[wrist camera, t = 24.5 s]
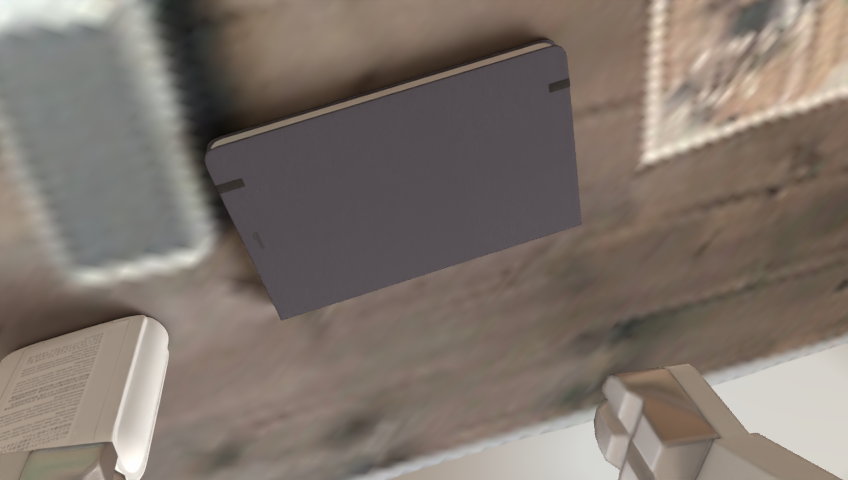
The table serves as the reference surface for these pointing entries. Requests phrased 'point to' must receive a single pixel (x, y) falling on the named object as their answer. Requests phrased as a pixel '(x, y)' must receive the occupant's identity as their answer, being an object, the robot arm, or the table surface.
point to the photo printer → (87, 390)
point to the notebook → (404, 177)
